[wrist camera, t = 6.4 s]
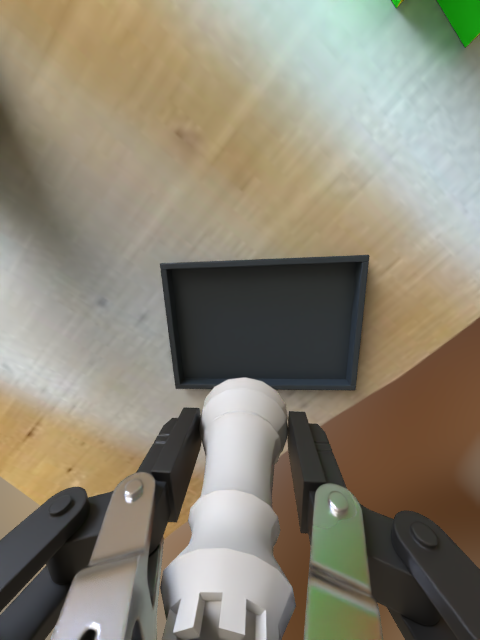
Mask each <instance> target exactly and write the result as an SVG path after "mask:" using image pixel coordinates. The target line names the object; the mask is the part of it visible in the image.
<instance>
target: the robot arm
mask: <svg viewBox="0 0 480 640" xmlns="http://www.w3.org/2000/svg"><path fill="white" fill-rule="evenodd" d="M200 419H201V415H200V409H199V408H183V410H182V412H181V414H180V416H179V418H172V419H171V420H170V421H168V422H167V423H166V424H165V425H164V426H163V428H162V429H161V431H160V433H159V436H157V438H156V440H155V441H154V444H153V445H152V447H151V448H150V450H149V452H148V453H147V455H146V457H145V459H144V460H143V462H142V464H141V465H140V467H139V469H138V471H137V472H136V473H134V474H132V475H130V476H128V477H126V478H125V479H124V480H122V481H121V482H120V483H119V484H118V485H117V487H116V488H115V490H114V491H112V492H109V493H105V494H101V495H97V496H93V497H89V498H88V497H87V493H86V491H85V489H83V488H81V487H72V488H68V489H65V490H63V491H61V492H59V493H57V494H55V495H54V496H52V497H51V498H50V499H48V500H47V501H46V502H45V503H44V504H43V505H41V506H40V507H39V508H38V509H37V510H36V511H34V512H33V513H32V514H31V515H30V516H28V517H27V518H26V519H25V520H24V521H22V522H21V523H20V524H19V525H18V526H17V527H15V528H14V529H13V530H12V531H11V532H9V533H8V534H7V535H6V536H5V537H4V538H2V539H1V540H0V612H1V610H2V609H3V608H4V607H5V606H6V605H7V604H8V603H9V602H10V601H11V600H12V599H13V598H14V597H15V596H16V595H17V593H18V592H19V591H20V590H21V589H22V588H23V587H24V586H25V585H26V584H27V583H28V582H29V581H30V579H32V577H33V576H34V575H35V574H36V573H37V572H38V571H39V570H40V569H41V568H42V567H43V566H44V565H45V564H46V565H47V566H46V567H45V568H44V569H43V570H42V571H41V572H40V573H39V574H38V575H37V576H36V577H35V578H34V580H33V581H32V582H31V583H30V584H29V585H28V586H27V587H26V588H25V589H24V590H23V591H22V592H21V593H20V595H19V596H18V597H17V598H16V599H15V600H14V601H13V602H12V603H11V604H10V605H9V606H8V608H6V610H5V611H4V612H3V613H2V614H1V615H0V640H45V638H46V637H47V636H48V634H49V633H50V632H51V631H52V629H53V628H54V627H55V629H54V631H53V634H52V637H51V640H157V607H158V596H159V585H160V574H161V564H162V554H163V543H164V538H163V534H164V531H165V528H166V526H167V523H168V522H177V520H178V517H179V514H180V511H181V508H182V504H183V501H184V498H185V495H186V492H187V489H188V486H189V482H190V479H191V476H192V473H193V470H194V467H195V463H196V460H197V457H198V454H199V451H200V447H201V442H202V438H201V434H200V431H199V426H200ZM288 452H289V459H290V465H291V472H292V478H293V485H294V492H295V498H296V505H297V511H298V518H299V525H300V531H301V533H308V534H309V539H310V545H311V553H310V565H309V578H308V592H307V605H306V618H305V631H304V640H383V635H382V627H381V620H380V614H379V608H378V604H377V602H378V603H380V604H382V605H384V606H386V607H387V608H388V610H389V612H390V613H391V615H392V617H393V619H394V621H395V622H396V624H397V626H398V628H399V629H400V631H401V633H402V635H403V637H404V638H405V640H480V569H479V568H478V567H477V566H476V565H475V564H474V563H473V562H472V561H471V560H470V559H469V558H468V557H467V555H466V554H465V553H464V552H463V551H462V550H461V549H460V548H459V547H458V546H457V545H456V544H455V543H454V542H453V541H452V540H451V538H450V537H449V536H448V535H447V534H446V533H445V532H444V531H443V530H442V529H441V528H440V527H439V526H438V525H436V524H435V523H434V522H433V521H431V520H430V519H428V518H427V517H425V516H423V515H421V514H419V513H416V512H413V511H401V512H398V513H397V514H396V515H395V517H394V519H392V518H389V517H387V516H384V515H381V514H378V513H376V512H374V511H371V510H369V509H367V508H366V507H364V506H363V505H361V504H360V503H359V502H358V500H357V499H356V497H355V496H354V495H353V494H352V493H351V492H350V491H349V490H347V488H346V486H345V483H344V480H343V478H342V475H341V473H340V470H339V467H338V465H337V462H336V459H335V457H334V455H333V453H332V449H331V446H330V444H329V441H328V439H327V436H326V434H325V432H324V431H323V430H322V428H321V427H320V426H319V425H318V424H309V423H308V420H307V417H306V413H305V412H294V411H289V417H288ZM55 625H56V626H55Z"/></svg>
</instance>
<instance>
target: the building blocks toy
mask: <svg viewBox="0 0 480 640" xmlns="http://www.w3.org/2000/svg"><path fill="white" fill-rule="evenodd" d="M391 1H392V2H393V4H394V5H395V7H396V8H397V7H398V6H399V5H400V4H401V3H402V2H403V1H404V0H391ZM437 2H438V3H439V5H440V7H441V8H442V10H443V12H444V13H445V15H446V17H447V18H448V20H449V22H450V23H451V25H452V27H453V28H454V30H455V32H456V33H457V35H458V37H459V38H460V40H461V42H462V43H463V45H464V47H465V48H466V47H467V46H468V45H469V44H470V43H471V42H472V41H473V40H474V39H475V38H476V37H477V36H478V35H479V34H480V0H437Z"/></svg>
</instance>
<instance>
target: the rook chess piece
mask: <svg viewBox="0 0 480 640" xmlns="http://www.w3.org/2000/svg"><path fill="white" fill-rule="evenodd" d="M287 420H288V417H287V411H286V404H285V403H284V401H283V400H282V398H281V397H280V395H279V394H278V392H277V391H276V390H275V389H273V388H272V387H270V386H269V385H267V384H266V383H264V382H263V381H259V380H255V379H250V378H246V377H244V378H236V379H228V380H226V381H224V382H223V383H221V384H219V385H217V386H215V387H214V388H213V389H212V391H211V392H210V393H209V395H208V396H207V397H206V399H205V402H204V407H203V410H202V414H201V419H200V426H199V431H200V434H201V438H202V442H203V447H204V451H205V454H206V465H205V474H204V482H203V489H202V493H201V497H200V498H199V499H198V500H197V501H196V503H195V504H194V505H193V506H192V507H191V509H190V514H189V519H188V522H189V525H190V528H191V531H192V537H191V540H190V542H189V545H188V546H187V547H186V548H185V549H184V550H183V551H182V552H181V553H180V554H179V555H178V556H177V557H176V558H175V559H174V560H173V561H172V562H171V564H169V566H168V567H167V568H166V569H165V570H164V571H163V576H162V581H161V586H160V589H161V594H162V599H163V604H164V610H165V615H166V620H167V621H166V625H165V629H164V633H163V637H162V640H281V639H282V636H283V634H284V632H285V629H286V627H287V625H288V623H289V620H290V618H291V616H292V613H293V611H294V609H295V607H296V605H295V599H294V594H293V589H292V586H291V584H290V583H289V581H288V580H287V578H286V576H285V575H284V573H283V571H282V570H281V568H280V566H279V565H278V563H277V562H276V560H275V558H274V557H273V546H274V545H275V543H276V541H277V538H278V536H279V533H280V526H279V521H278V516H277V515H276V514H275V513H274V511H273V510H272V486H273V475H274V465H275V463H277V461H278V458H279V455H280V453H281V452H282V451H283V448H284V445H285V442H286V439H287V436H288V425H287Z"/></svg>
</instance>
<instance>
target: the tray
mask: <svg viewBox="0 0 480 640" xmlns="http://www.w3.org/2000/svg"><path fill="white" fill-rule="evenodd" d="M368 261H369V255H357V256H332V257H308V258H283V259H259V260H234V261H210V262H185V263H161V264H160V268H161V276H162V284H163V292H164V300H165V308H166V316H167V324H168V332H169V340H170V348H171V355H172V363H173V371H174V379H175V387H176V389H213V388H214V387H215V386H217V385H219V384H221V383H223V382H224V381H226V380H228V379H236V378H244V377H246V378H250V379H255V380H259V381H263V382H264V383H266V384H267V385H269V386H270V387H272V388H273V389H275V390H355V389H356V380H357V370H358V360H359V351H360V341H361V331H362V322H363V312H364V302H365V293H366V283H367V273H368V264H369V262H368Z"/></svg>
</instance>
